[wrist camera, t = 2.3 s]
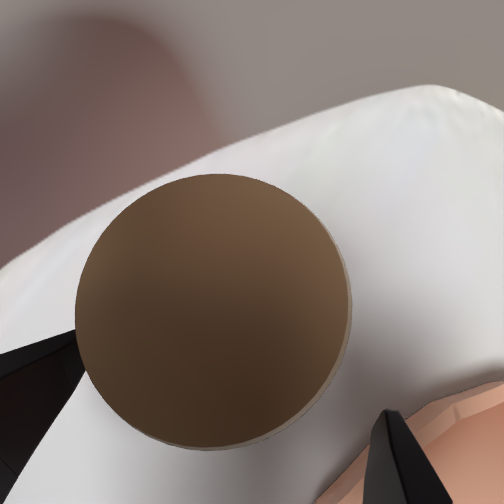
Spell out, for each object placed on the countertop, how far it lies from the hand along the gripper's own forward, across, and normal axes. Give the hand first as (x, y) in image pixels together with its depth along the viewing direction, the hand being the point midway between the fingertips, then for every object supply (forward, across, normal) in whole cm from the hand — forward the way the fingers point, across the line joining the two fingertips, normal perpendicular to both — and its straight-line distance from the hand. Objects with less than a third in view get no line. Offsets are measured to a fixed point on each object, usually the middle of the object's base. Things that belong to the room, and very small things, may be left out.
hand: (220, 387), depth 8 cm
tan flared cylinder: (+8, 0, +6) cm, 9 cm away
